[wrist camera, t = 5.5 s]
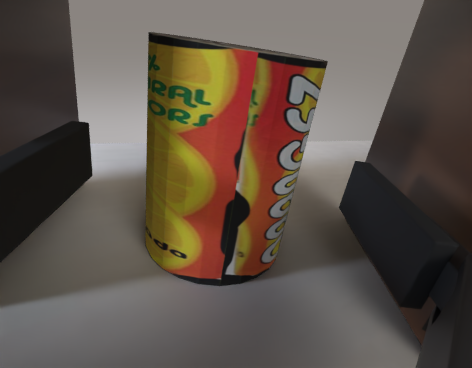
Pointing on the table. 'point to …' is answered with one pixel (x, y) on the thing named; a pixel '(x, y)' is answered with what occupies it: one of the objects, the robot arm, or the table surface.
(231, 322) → the table surface
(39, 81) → the cubby
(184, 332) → the table surface
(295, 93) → the beverage can
